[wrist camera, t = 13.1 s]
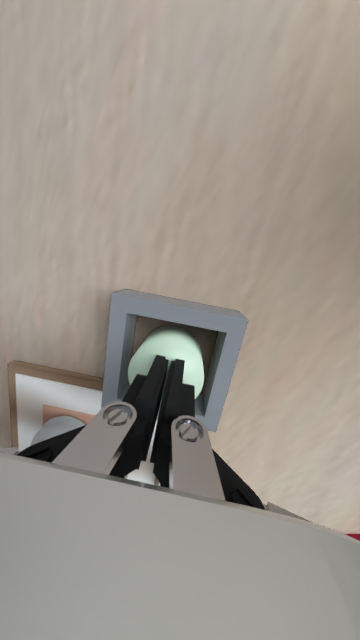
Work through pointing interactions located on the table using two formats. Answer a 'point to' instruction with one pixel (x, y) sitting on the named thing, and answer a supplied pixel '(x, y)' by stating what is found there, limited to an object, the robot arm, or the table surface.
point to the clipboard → (57, 405)
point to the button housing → (177, 311)
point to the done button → (170, 355)
